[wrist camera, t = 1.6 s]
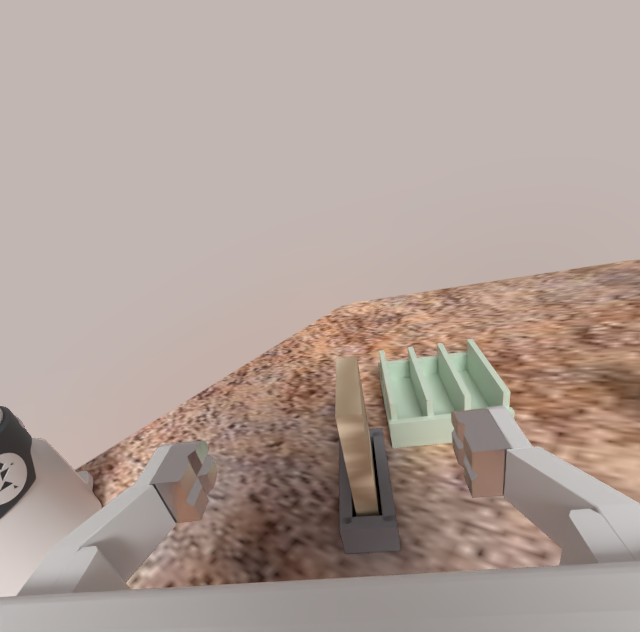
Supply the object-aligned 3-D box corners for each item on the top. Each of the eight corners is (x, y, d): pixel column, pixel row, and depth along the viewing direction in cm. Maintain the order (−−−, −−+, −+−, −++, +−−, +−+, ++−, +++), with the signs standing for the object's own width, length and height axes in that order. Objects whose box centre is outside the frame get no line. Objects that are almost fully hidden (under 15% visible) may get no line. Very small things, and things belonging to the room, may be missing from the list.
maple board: (360, 533, 28) (335, 416, 22) (356, 463, 34) (336, 358, 28) (381, 532, 27) (361, 413, 22) (374, 462, 34) (356, 356, 28)
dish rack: (392, 448, 35) (387, 408, 32) (380, 383, 45) (376, 349, 42) (512, 437, 33) (516, 394, 31) (472, 372, 43) (473, 336, 41)
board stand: (345, 553, 26) (339, 530, 25) (343, 452, 35) (339, 432, 34) (400, 550, 26) (397, 527, 25) (384, 448, 35) (382, 427, 34)
